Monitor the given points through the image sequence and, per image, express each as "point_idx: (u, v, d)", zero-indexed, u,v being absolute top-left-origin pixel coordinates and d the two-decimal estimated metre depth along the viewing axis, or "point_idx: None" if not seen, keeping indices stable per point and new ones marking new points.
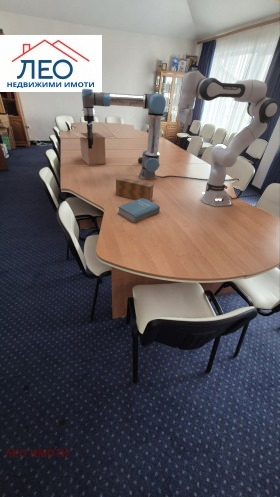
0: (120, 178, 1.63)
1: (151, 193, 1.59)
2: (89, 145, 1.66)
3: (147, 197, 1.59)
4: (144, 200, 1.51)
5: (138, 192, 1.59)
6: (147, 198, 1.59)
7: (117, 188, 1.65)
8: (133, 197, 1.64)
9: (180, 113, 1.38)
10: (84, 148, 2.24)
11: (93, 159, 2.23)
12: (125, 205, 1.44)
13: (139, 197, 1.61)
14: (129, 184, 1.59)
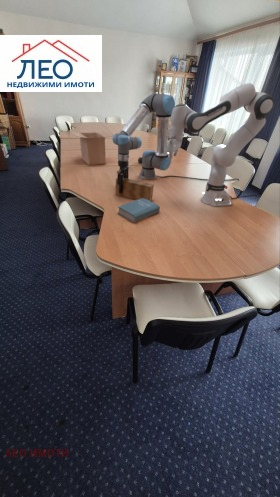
0: None
1: (151, 193, 1.59)
2: None
3: (147, 197, 1.59)
4: (144, 200, 1.51)
5: (138, 192, 1.59)
6: (147, 198, 1.59)
7: (117, 188, 1.65)
8: (133, 197, 1.64)
9: None
10: (84, 148, 2.24)
11: (93, 159, 2.23)
12: (125, 205, 1.44)
13: (139, 197, 1.61)
14: (129, 184, 1.59)
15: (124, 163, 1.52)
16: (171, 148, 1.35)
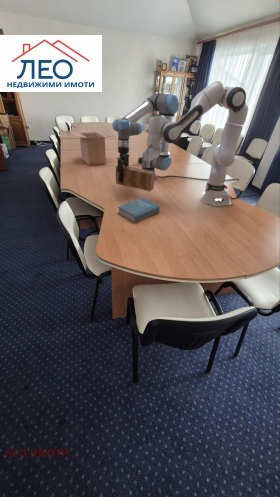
0: None
1: (152, 181, 1.54)
2: None
3: (148, 185, 1.54)
4: (144, 200, 1.51)
5: (139, 180, 1.54)
6: (148, 186, 1.54)
7: (117, 176, 1.60)
8: (134, 185, 1.58)
9: None
10: (84, 148, 2.24)
11: (93, 159, 2.23)
12: (125, 205, 1.44)
13: (140, 185, 1.56)
14: (130, 172, 1.54)
15: (124, 149, 1.47)
16: (148, 157, 1.37)
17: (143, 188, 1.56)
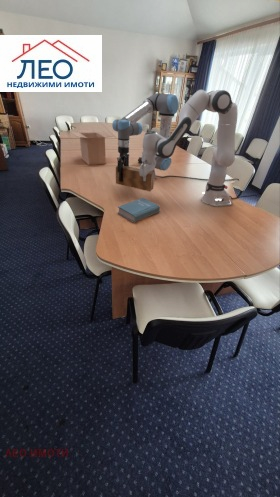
0: None
1: (152, 181, 1.54)
2: None
3: (148, 185, 1.54)
4: (144, 200, 1.51)
5: (139, 180, 1.54)
6: (148, 186, 1.54)
7: (117, 176, 1.60)
8: (133, 185, 1.58)
9: None
10: (84, 148, 2.24)
11: (93, 159, 2.23)
12: (125, 205, 1.44)
13: (140, 185, 1.56)
14: (130, 172, 1.54)
15: (124, 149, 1.47)
16: (143, 172, 1.43)
17: (143, 188, 1.56)
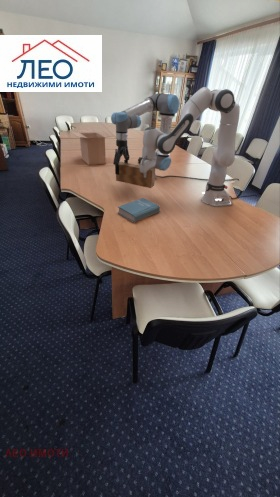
0: (120, 162, 1.57)
1: (153, 177, 1.52)
2: None
3: (149, 182, 1.52)
4: (144, 200, 1.51)
5: (139, 176, 1.53)
6: (149, 183, 1.52)
7: None
8: (134, 182, 1.57)
9: None
10: (84, 148, 2.24)
11: (93, 159, 2.23)
12: (125, 205, 1.44)
13: (140, 182, 1.55)
14: (130, 169, 1.53)
15: (122, 142, 1.45)
16: (143, 168, 1.41)
17: (143, 185, 1.55)
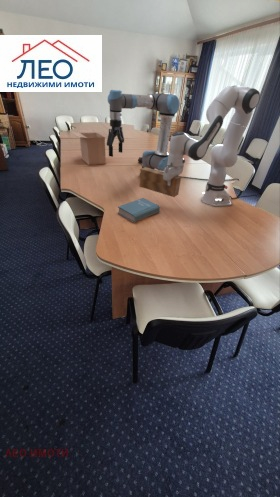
0: (145, 168, 1.50)
1: (177, 186, 1.42)
2: None
3: (172, 190, 1.42)
4: (144, 200, 1.51)
5: (163, 184, 1.44)
6: (172, 191, 1.42)
7: (141, 179, 1.52)
8: (157, 190, 1.48)
9: None
10: (84, 148, 2.24)
11: (93, 159, 2.23)
12: (125, 205, 1.44)
13: (164, 190, 1.46)
14: (154, 175, 1.45)
15: (116, 122, 1.40)
16: (167, 176, 1.32)
17: (167, 193, 1.45)
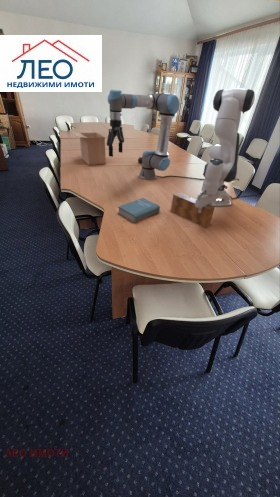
0: (178, 194, 1.46)
1: (210, 217, 1.35)
2: None
3: (204, 221, 1.36)
4: (144, 200, 1.51)
5: (195, 213, 1.38)
6: (203, 221, 1.36)
7: (173, 204, 1.48)
8: (188, 217, 1.43)
9: None
10: (84, 148, 2.24)
11: (93, 159, 2.23)
12: (125, 205, 1.44)
13: (195, 218, 1.40)
14: (187, 203, 1.40)
15: (116, 122, 1.40)
16: (199, 204, 1.25)
17: (198, 222, 1.39)
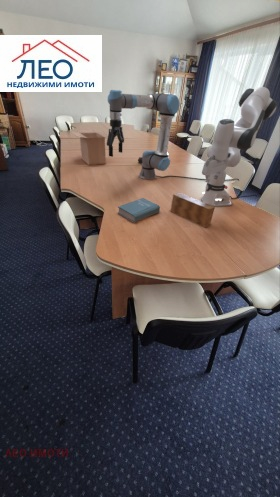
0: (178, 194, 1.46)
1: (210, 217, 1.35)
2: None
3: (204, 221, 1.36)
4: (144, 200, 1.51)
5: (195, 213, 1.38)
6: (203, 221, 1.36)
7: (173, 204, 1.48)
8: (188, 217, 1.43)
9: None
10: (84, 148, 2.24)
11: (93, 159, 2.23)
12: (125, 205, 1.44)
13: (195, 218, 1.40)
14: (187, 203, 1.40)
15: (116, 122, 1.40)
16: (207, 170, 1.14)
17: (198, 222, 1.39)
